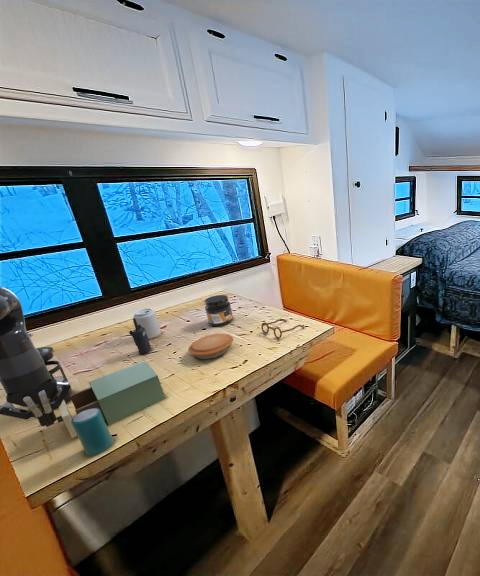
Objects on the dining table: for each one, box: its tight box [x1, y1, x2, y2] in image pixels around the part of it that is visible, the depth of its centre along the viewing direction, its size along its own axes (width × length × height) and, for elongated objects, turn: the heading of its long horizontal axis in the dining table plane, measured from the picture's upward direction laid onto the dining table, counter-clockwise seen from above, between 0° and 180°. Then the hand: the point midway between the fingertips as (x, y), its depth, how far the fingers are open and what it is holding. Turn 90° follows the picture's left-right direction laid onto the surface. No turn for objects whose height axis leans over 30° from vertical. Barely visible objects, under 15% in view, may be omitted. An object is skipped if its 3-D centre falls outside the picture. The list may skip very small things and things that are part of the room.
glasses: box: [261, 318, 305, 340], centre depth 133 cm, size 13×13×5 cm
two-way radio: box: [128, 317, 152, 355], centre depth 117 cm, size 6×4×15 cm
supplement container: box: [204, 294, 234, 327], centre depth 141 cm, size 10×10×12 cm
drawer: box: [56, 386, 106, 439], centre depth 85 cm, size 14×11×7 cm
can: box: [132, 308, 162, 340], centre depth 130 cm, size 8×8×12 cm
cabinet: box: [88, 360, 166, 426], centre depth 91 cm, size 14×13×9 cm
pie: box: [187, 333, 234, 360], centre depth 118 cm, size 16×16×5 cm
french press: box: [28, 333, 75, 411], centre depth 89 cm, size 12×9×23 cm
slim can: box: [71, 408, 114, 457], centre depth 75 cm, size 5×5×10 cm
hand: (50, 424), depth 79 cm, fingers closed
